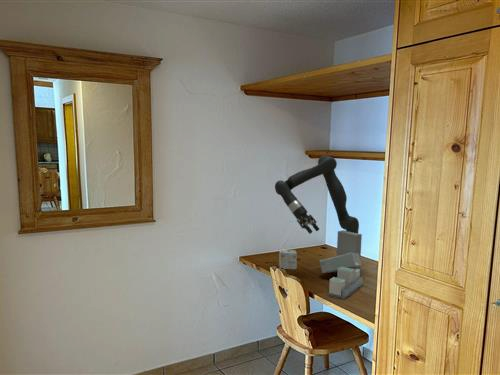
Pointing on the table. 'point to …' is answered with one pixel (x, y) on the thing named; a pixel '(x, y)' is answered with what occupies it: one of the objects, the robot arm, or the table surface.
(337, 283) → the mounted module
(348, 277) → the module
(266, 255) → the table surface
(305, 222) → the robot arm
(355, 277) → the mounted module
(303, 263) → the table surface
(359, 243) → the tall upright rectangular panel
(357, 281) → the rail
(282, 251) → the light bulb box
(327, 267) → the hard drive box
